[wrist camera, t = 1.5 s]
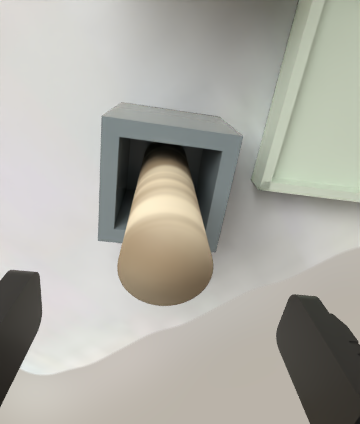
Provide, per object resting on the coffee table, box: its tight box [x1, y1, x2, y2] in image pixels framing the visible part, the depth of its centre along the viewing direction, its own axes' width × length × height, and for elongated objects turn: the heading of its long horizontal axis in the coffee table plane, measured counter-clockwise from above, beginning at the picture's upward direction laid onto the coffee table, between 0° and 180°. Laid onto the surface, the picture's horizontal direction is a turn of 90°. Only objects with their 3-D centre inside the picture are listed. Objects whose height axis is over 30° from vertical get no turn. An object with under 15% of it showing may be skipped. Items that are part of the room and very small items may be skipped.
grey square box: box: [98, 102, 243, 252], centre depth 22 cm, size 8×8×8 cm
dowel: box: [117, 142, 213, 306], centre depth 18 cm, size 4×4×15 cm
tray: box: [251, 0, 360, 202], centre depth 23 cm, size 16×12×2 cm
